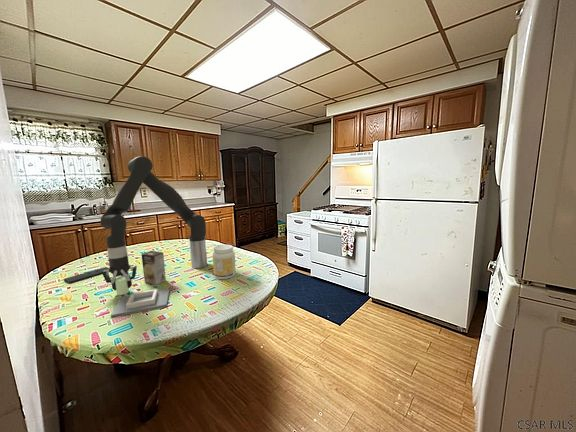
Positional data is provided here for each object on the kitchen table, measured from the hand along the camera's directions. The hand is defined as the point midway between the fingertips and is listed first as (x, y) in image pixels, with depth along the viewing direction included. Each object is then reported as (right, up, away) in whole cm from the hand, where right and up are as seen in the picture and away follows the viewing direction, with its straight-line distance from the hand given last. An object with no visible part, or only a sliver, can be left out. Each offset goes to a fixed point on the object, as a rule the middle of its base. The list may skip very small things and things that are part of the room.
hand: (122, 288), depth 113 cm
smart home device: (-35, 0, +21) cm, 41 cm away
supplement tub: (+45, +1, +19) cm, 49 cm away
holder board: (+16, -4, -9) cm, 19 cm away
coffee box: (+9, 0, +13) cm, 15 cm away
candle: (0, -2, 0) cm, 2 cm away
